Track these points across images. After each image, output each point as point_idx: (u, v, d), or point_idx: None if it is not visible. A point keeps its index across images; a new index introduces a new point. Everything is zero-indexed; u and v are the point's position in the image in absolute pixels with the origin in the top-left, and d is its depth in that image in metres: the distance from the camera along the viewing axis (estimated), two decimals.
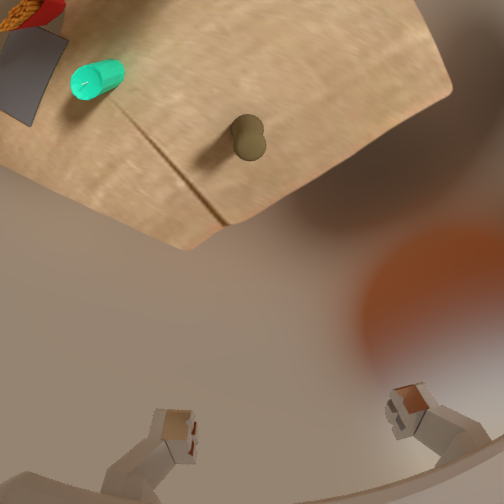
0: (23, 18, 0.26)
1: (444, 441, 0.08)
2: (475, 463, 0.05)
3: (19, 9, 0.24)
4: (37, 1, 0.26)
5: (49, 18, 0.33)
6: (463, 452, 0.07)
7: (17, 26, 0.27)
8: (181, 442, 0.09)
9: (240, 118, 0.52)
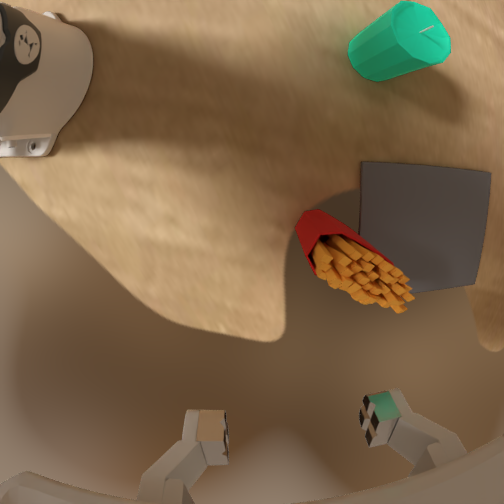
0: None
1: (418, 451, 0.08)
2: (475, 463, 0.05)
3: (362, 277, 0.21)
4: (328, 251, 0.23)
5: (340, 222, 0.30)
6: (434, 464, 0.07)
7: None
8: (217, 443, 0.09)
9: None
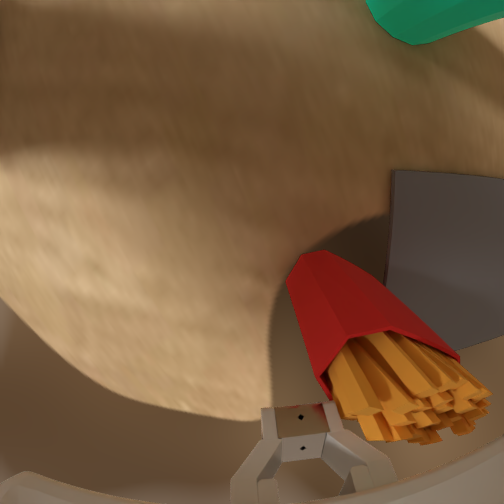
0: (452, 369, 0.09)
1: (348, 470, 0.08)
2: (475, 463, 0.05)
3: (428, 419, 0.08)
4: (361, 364, 0.11)
5: (362, 273, 0.18)
6: (355, 489, 0.07)
7: (455, 363, 0.11)
8: (299, 437, 0.09)
9: None
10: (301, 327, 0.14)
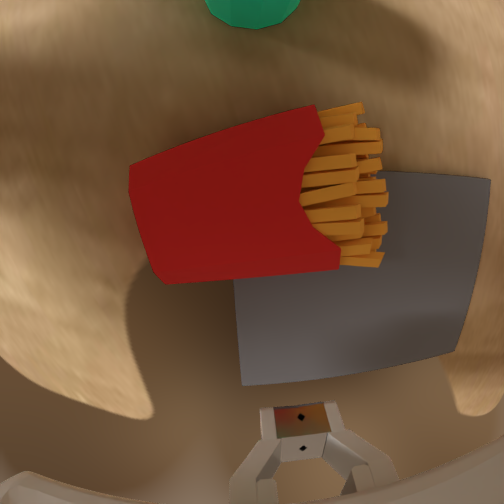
0: None
1: (350, 469, 0.08)
2: (475, 463, 0.05)
3: None
4: None
5: None
6: (357, 488, 0.07)
7: None
8: (298, 438, 0.09)
9: None
10: None
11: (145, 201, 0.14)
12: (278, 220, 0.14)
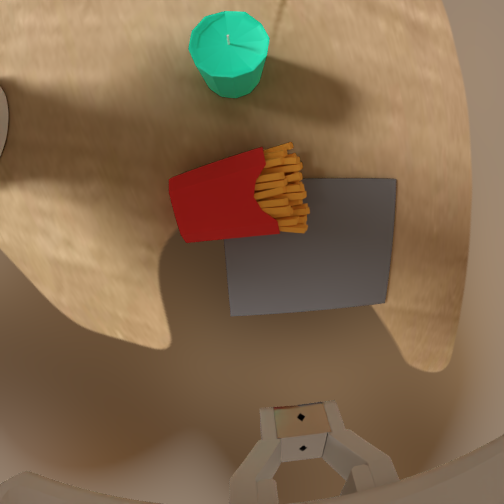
0: None
1: (350, 469, 0.08)
2: (475, 463, 0.05)
3: None
4: None
5: None
6: (357, 489, 0.07)
7: None
8: (298, 438, 0.09)
9: None
10: (226, 158, 0.28)
11: (177, 197, 0.29)
12: (244, 206, 0.29)
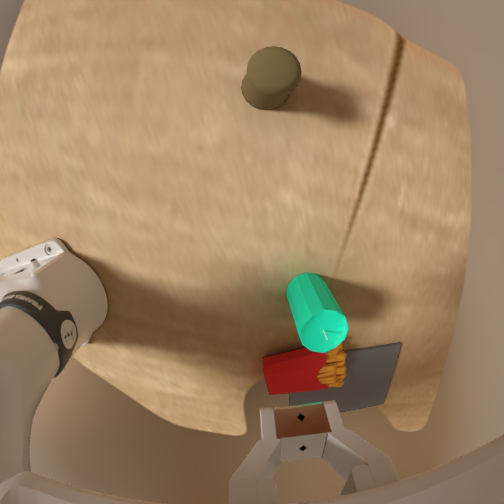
0: None
1: (350, 469, 0.08)
2: (475, 463, 0.05)
3: None
4: None
5: None
6: (357, 489, 0.07)
7: None
8: (298, 438, 0.09)
9: (258, 106, 0.34)
10: (301, 356, 0.44)
11: (269, 378, 0.45)
12: (310, 382, 0.45)
